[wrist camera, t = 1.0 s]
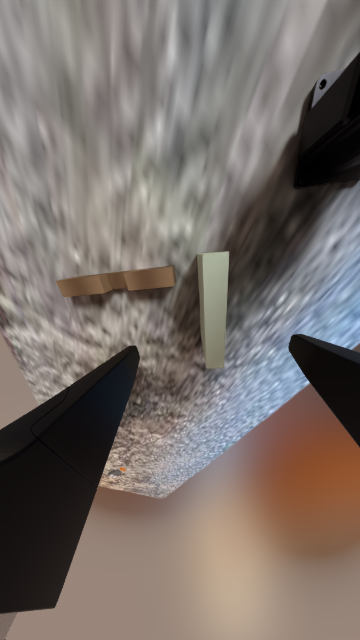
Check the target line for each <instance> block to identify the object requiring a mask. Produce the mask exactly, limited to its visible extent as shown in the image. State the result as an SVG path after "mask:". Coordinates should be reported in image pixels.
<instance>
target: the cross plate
mask: <svg viewBox="0 0 360 640" xmlns="http://www.w3.org/2000/svg"><path fill="white" fill-rule="evenodd" d="M197 265H198V286H199V297H200V327H201V339H202V345H203V352H204V358H205V364H206V369H212V368H224V353H225V331H226V310H227V288H228V266H229V252H211V253H203V254H197Z"/></svg>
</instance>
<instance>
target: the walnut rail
mask: <svg viewBox="0 0 360 640" xmlns="http://www.w3.org/2000/svg"><path fill="white" fill-rule="evenodd" d="M175 282H176V277H175V269H174V266H166V267H158V268H149V269H140V270H132V271H123V272H114V273H105V274H97V275H88V276H79V277H72V278H68V279H63V280H58V281H56V283H57V285H58V287H59V289H60V291H61V293H62V295H63V297H71V296H81V295H91V294H101V293H106V292H108V291H110V290H112V289H120V288H128V291H131V290H141V289H151V288H161V287H171V286H174V285H175Z"/></svg>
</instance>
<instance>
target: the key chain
mask: <svg viewBox="0 0 360 640" xmlns="http://www.w3.org/2000/svg"><path fill="white" fill-rule="evenodd" d="M126 469H128V468H120V469H119V470H118V469H117V470H113V471H111V472H109V474H108V476H110V477H113V478H115V477H117V476H119V475H121V474H122V473H123V472H124V471H126ZM122 471H123V472H122Z"/></svg>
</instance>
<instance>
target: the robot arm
mask: <svg viewBox="0 0 360 640" xmlns="http://www.w3.org/2000/svg"><path fill="white" fill-rule="evenodd" d="M319 85H321V86H322V90H320V89H319ZM300 179H302V183H301V184H300V183H299V180H300ZM359 179H360V52H359V53H358V55H357V56H356V57H355V58H354V59H353V60H352V62H351V63H350V64H349V65H348V66H347V67H346V69H343V70H339V71H334V72H330V73H325V74H323V75H322V76H321V77H320V78H319V79H318V81H317V82H316V83H315V85H314V87H313V89H312V92H311V97H310V103H309V108H308V113H307V115H306V116H305V121H304V126H303V131H302V136H301V141H300V147H299V152H298V164H297V169H296V174H295V179H294V188H295V189H301V188H307V187H314V186H320V185H327V184H333V183H339V182H346V181H352V180H359ZM289 351H290V353H291V354H292V356H293V358H294V359H295V361H296V362H297V364H298V366H299V367H300V369H301V370H302V372H303V374H304V375H305V377H306V378H307V379H308V381H309V382H310V383H311V384H312V386H313V387H314V388H315V390H316V391H317V392H318V394H319V395H320V396H321V398H322V399H323V400H324V401H325V403H326V404H327V405H328V407H329V408H330V409H331V411H332V412H333V413H334V415H335V416H336V417H337V418H338V420H339V421H340V422H341V424H342V425H343V426H344V428H345V429H346V430H347V431H348V433H349V434H350V435H351V437H352V438H353V439H354V441H355V442H356V443H357V444H358V446H359V447H360V353H359V352H356V351H353V350H350V349H347V348H344V347H341V346H337V345H334V344H331V343H328V342H325V341H322V340H319V339H316V338H313V337H310V336H306V335H303V334H294V335H292V336H291V340H290V343H289ZM139 360H140V355H139V352H138V349H137V347H136V346H135V345H134V346H128V347H127V348H125V349H124V350H122V351H121V352H119V353H118V354H116V355H115V356H113V357H112V358H110V359H109V360H107V361H106V362H104V363H103V364H101V365H100V366H98V367H97V368H96V369H94V370H93V371H91V372H90V373H88V374H87V375H85V376H84V377H82V378H81V379H79V380H78V381H76V382H75V383H73V384H72V385H71V386H69V387H67V388H66V389H64V390H63V391H61V392H60V393H58V394H57V395H55V396H54V397H52V398H51V399H49V400H48V401H46V402H44V403H43V404H41V405H40V406H38V407H36V408H35V409H33V410H32V411H30V412H28V413H27V414H25V415H23V416H22V417H20V418H19V419H17V420H15V421H14V422H12V423H10V424H9V425H7V426H6V427H4V428H2V429H1V430H0V640H5V637H6V635H7V633H8V631H9V629H10V627H11V624H12V623H13V620H14V618H15V616H16V614H17V612H23V611H34V610H43V609H52V608H55V606H56V604H57V601H58V599H59V596H60V593H61V591H62V588H63V585H64V582H65V579H66V576H67V573H68V571H69V568H70V565H71V562H72V559H73V556H74V553H75V551H76V548H77V545H78V542H79V539H80V536H81V534H82V531H83V528H84V525H85V522H86V519H87V516H88V514H89V511H90V508H91V505H92V502H93V499H94V496H95V493H96V491H97V487H98V485H99V482H100V479H101V476H102V473H103V470H104V467H105V465H106V462H107V459H108V456H109V453H110V450H111V448H112V445H113V442H114V439H115V436H116V433H117V430H118V428H119V425H120V422H121V419H122V416H123V413H124V410H125V408H126V405H127V402H128V399H129V396H130V393H131V390H132V388H133V385H134V381H135V377H136V373H137V369H138V365H139Z"/></svg>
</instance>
